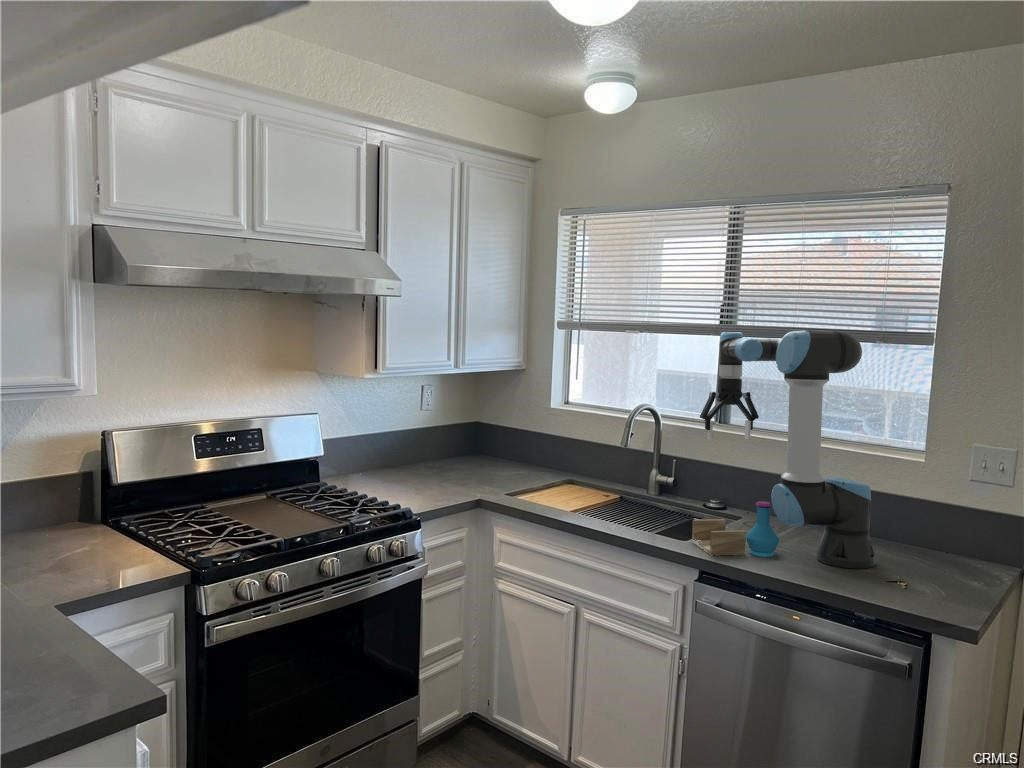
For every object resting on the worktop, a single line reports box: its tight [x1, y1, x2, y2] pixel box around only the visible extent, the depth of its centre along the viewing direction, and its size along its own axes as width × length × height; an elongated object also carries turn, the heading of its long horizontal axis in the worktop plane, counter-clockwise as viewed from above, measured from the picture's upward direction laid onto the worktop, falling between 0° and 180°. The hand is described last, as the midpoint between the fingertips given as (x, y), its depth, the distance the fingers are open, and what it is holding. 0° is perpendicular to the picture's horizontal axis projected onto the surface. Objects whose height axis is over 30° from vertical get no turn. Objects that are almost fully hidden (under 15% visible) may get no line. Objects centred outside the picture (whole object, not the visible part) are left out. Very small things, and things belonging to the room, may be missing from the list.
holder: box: [691, 518, 747, 556], centre depth 224 cm, size 15×10×7 cm, turn 8°
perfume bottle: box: [745, 500, 780, 558], centre depth 219 cm, size 9×9×15 cm
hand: (728, 439), depth 258 cm, fingers open, 13 cm apart
